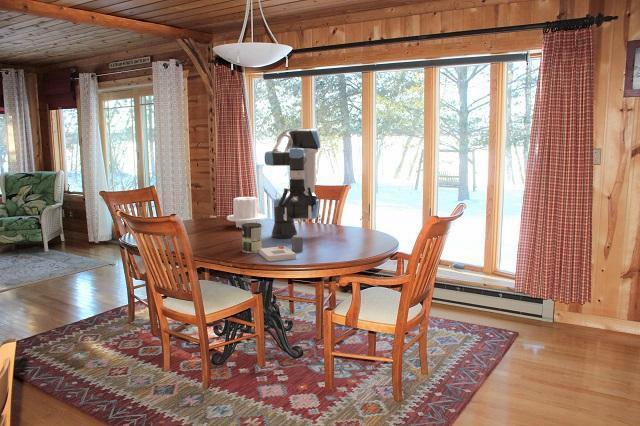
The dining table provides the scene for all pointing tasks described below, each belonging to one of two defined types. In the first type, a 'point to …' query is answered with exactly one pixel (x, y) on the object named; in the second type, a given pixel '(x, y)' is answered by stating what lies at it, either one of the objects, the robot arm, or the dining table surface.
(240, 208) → the ribbed cylinder on disc
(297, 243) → the plug
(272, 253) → the socket plate
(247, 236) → the coffee can
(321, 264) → the dining table surface
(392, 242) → the dining table surface
